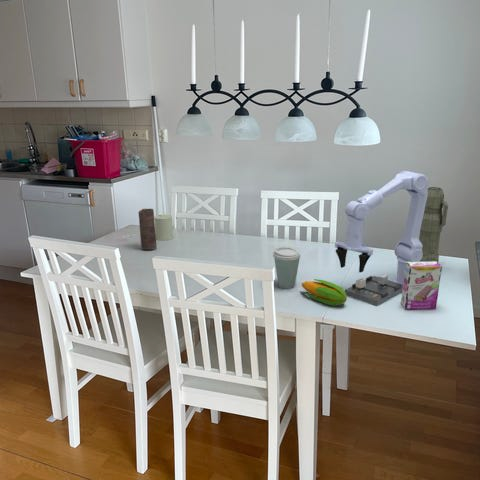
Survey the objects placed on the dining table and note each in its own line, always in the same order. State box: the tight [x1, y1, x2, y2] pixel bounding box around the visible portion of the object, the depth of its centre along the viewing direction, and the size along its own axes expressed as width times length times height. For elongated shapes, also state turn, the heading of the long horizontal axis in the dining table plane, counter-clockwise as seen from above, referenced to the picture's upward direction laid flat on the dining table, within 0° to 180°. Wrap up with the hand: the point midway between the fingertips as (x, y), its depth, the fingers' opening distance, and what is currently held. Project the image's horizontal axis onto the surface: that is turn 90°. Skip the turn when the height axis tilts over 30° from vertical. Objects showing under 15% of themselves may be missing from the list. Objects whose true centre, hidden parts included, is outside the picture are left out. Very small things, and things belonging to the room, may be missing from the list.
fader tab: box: [355, 277, 366, 288], centre depth 182 cm, size 3×2×3 cm
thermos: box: [419, 186, 449, 263], centre depth 200 cm, size 9×12×35 cm
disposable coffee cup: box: [272, 246, 301, 290], centre depth 188 cm, size 11×11×15 cm
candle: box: [138, 208, 157, 250], centre depth 234 cm, size 8×7×20 cm
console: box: [344, 275, 403, 307], centre depth 183 cm, size 20×14×3 cm
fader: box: [378, 273, 389, 285], centre depth 185 cm, size 3×2×3 cm
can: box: [154, 213, 174, 241], centre depth 252 cm, size 9×9×12 cm
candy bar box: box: [400, 261, 443, 311], centre depth 168 cm, size 11×5×16 cm, turn 92°
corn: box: [301, 278, 348, 307], centre depth 177 cm, size 7×8×20 cm
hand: (351, 269), depth 180 cm, fingers open, 7 cm apart
